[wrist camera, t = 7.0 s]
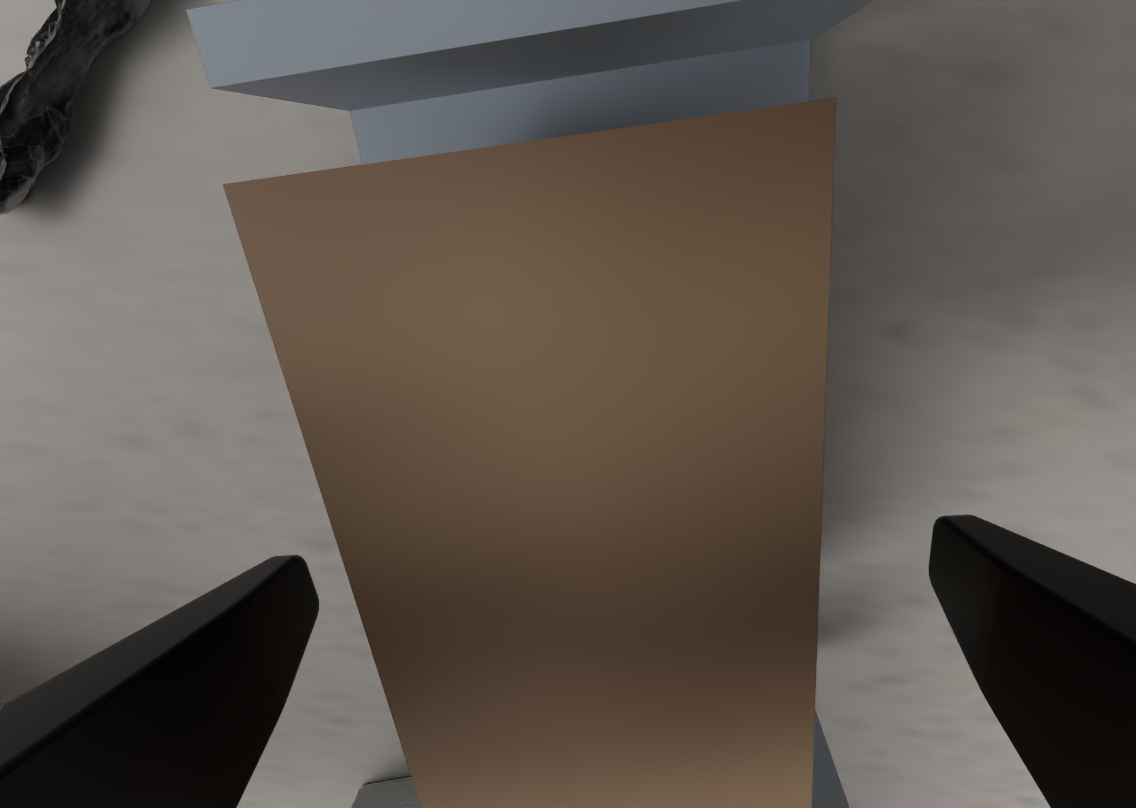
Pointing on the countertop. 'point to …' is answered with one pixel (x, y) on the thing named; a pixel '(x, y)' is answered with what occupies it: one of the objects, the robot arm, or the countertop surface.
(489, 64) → the peg stand
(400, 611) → the brown rectangular block
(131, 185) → the countertop surface
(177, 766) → the robot arm
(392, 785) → the skincare box
